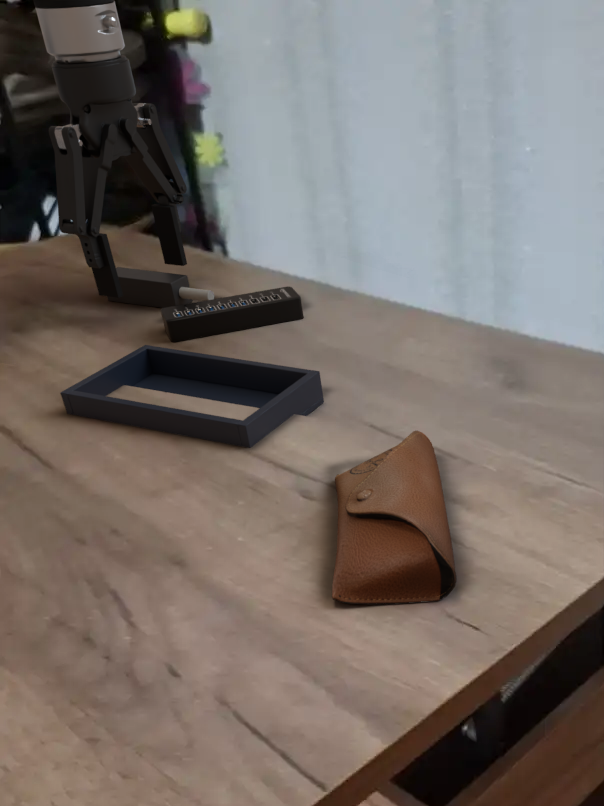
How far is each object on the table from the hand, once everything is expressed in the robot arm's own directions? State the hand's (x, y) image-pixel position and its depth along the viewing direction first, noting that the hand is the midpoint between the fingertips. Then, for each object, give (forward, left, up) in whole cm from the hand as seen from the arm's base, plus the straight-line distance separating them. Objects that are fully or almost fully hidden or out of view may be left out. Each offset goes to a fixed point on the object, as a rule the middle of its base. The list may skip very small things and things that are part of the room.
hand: (144, 279), depth 109 cm
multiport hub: (+14, -3, -3) cm, 15 cm away
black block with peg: (+2, 0, -2) cm, 3 cm away
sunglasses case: (+50, -35, -3) cm, 61 cm away
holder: (+24, -23, -3) cm, 33 cm away
